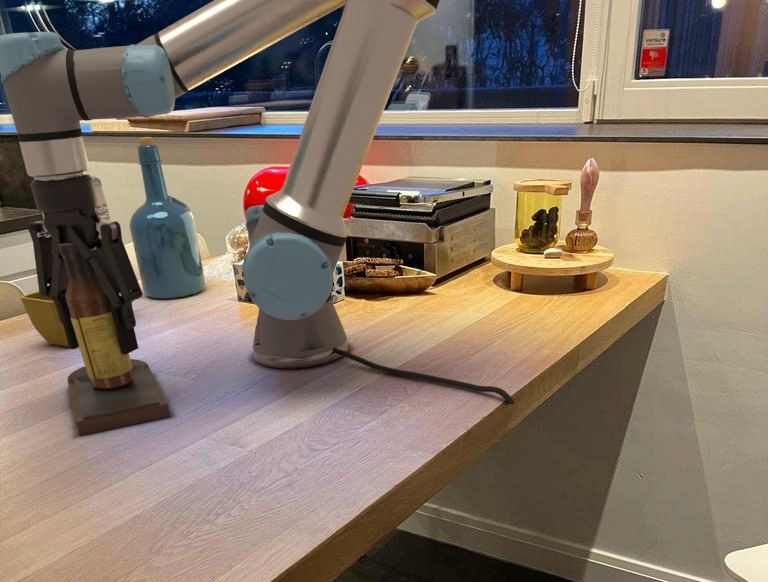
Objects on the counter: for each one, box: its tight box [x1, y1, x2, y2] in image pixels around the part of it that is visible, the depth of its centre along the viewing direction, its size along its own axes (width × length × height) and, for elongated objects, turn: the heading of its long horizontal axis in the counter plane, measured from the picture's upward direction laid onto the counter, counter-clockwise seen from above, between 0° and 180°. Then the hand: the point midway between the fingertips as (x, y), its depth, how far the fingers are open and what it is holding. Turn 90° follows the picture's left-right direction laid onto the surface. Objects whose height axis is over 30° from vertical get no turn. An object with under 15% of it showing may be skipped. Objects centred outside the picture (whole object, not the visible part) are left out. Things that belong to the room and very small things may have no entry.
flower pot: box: [20, 290, 69, 348], centre depth 138 cm, size 9×9×9 cm
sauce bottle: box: [58, 243, 134, 389], centre depth 107 cm, size 6×6×20 cm
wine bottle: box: [129, 136, 206, 300], centre depth 160 cm, size 14×13×30 cm
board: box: [66, 358, 171, 437], centre depth 114 cm, size 24×12×2 cm, turn 23°
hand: (103, 348), depth 110 cm, fingers open, 9 cm apart
